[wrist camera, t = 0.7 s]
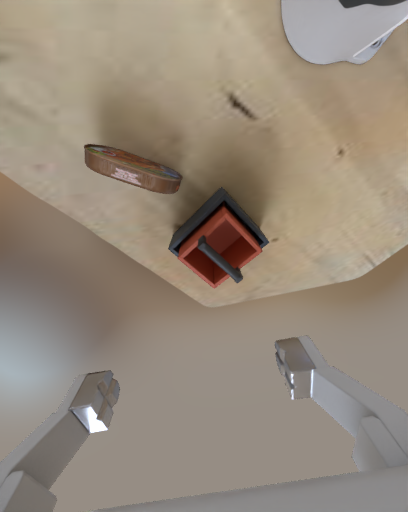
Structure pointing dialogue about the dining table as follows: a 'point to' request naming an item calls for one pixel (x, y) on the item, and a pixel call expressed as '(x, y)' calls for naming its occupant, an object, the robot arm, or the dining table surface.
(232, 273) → the terracotta bin
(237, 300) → the dining table surface
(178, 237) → the slate bin
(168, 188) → the tin
